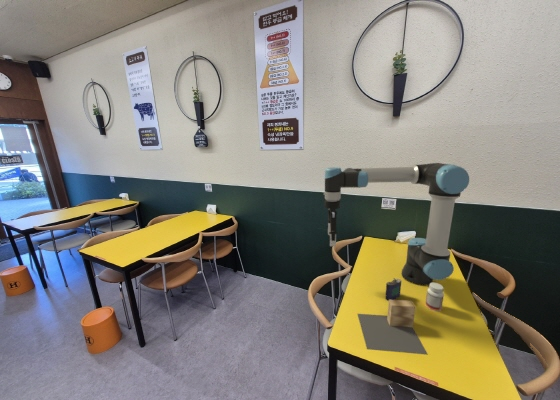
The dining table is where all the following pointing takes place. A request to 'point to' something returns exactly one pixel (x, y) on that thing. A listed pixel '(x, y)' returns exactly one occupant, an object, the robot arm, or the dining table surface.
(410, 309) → the oak tile
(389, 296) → the flask
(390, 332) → the mat
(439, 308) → the pill bottle
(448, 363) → the dining table surface
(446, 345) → the dining table surface
